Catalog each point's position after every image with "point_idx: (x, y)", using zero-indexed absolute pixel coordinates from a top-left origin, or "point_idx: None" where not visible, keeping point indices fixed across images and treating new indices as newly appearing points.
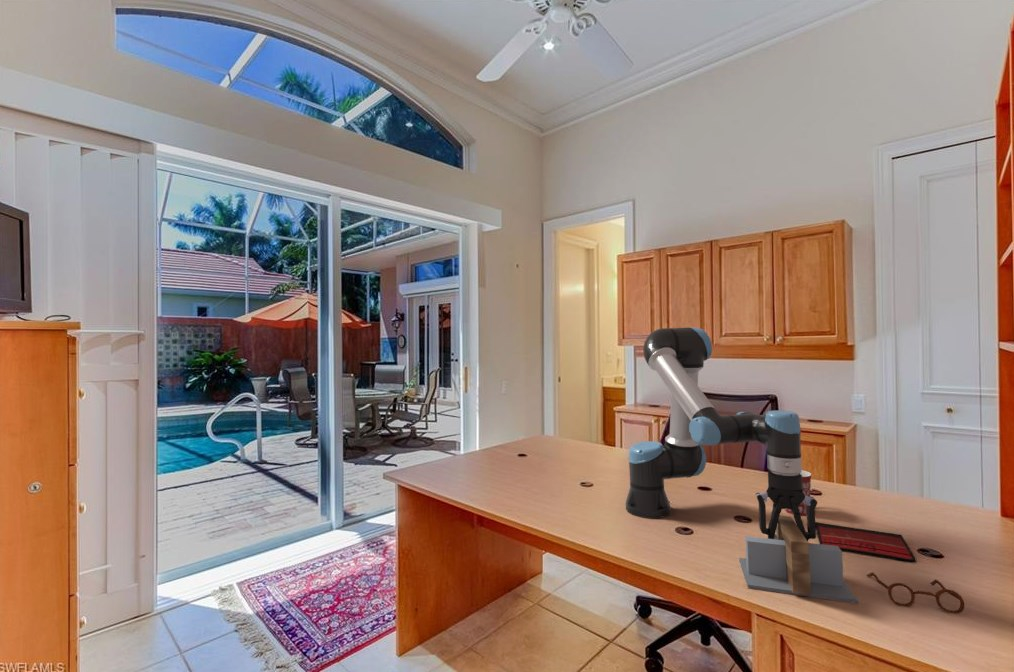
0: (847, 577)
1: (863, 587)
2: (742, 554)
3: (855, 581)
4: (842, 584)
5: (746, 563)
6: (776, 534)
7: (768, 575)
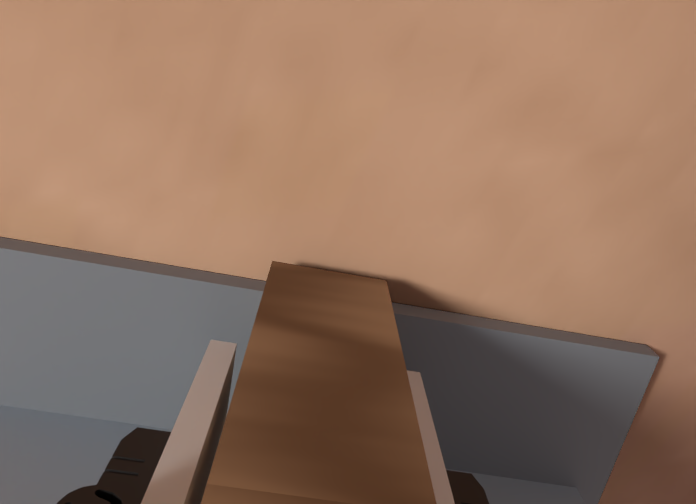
0: (678, 396)
1: (683, 496)
2: (16, 100)
3: (691, 438)
4: None
5: (1, 333)
6: (232, 401)
7: None
